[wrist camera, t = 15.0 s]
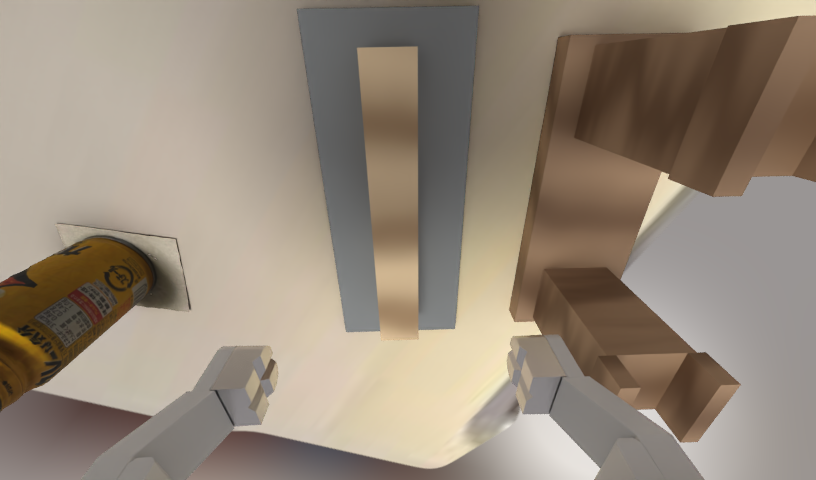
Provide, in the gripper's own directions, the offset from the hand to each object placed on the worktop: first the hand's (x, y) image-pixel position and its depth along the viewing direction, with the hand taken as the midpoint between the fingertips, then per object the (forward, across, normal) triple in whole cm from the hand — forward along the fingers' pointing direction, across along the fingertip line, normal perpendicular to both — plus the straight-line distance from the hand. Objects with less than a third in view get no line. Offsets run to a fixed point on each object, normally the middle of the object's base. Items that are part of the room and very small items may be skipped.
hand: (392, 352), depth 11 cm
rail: (+12, 0, +1) cm, 12 cm away
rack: (+14, -14, +1) cm, 20 cm away
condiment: (+14, +22, +6) cm, 27 cm away
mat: (+14, 0, +1) cm, 14 cm away
